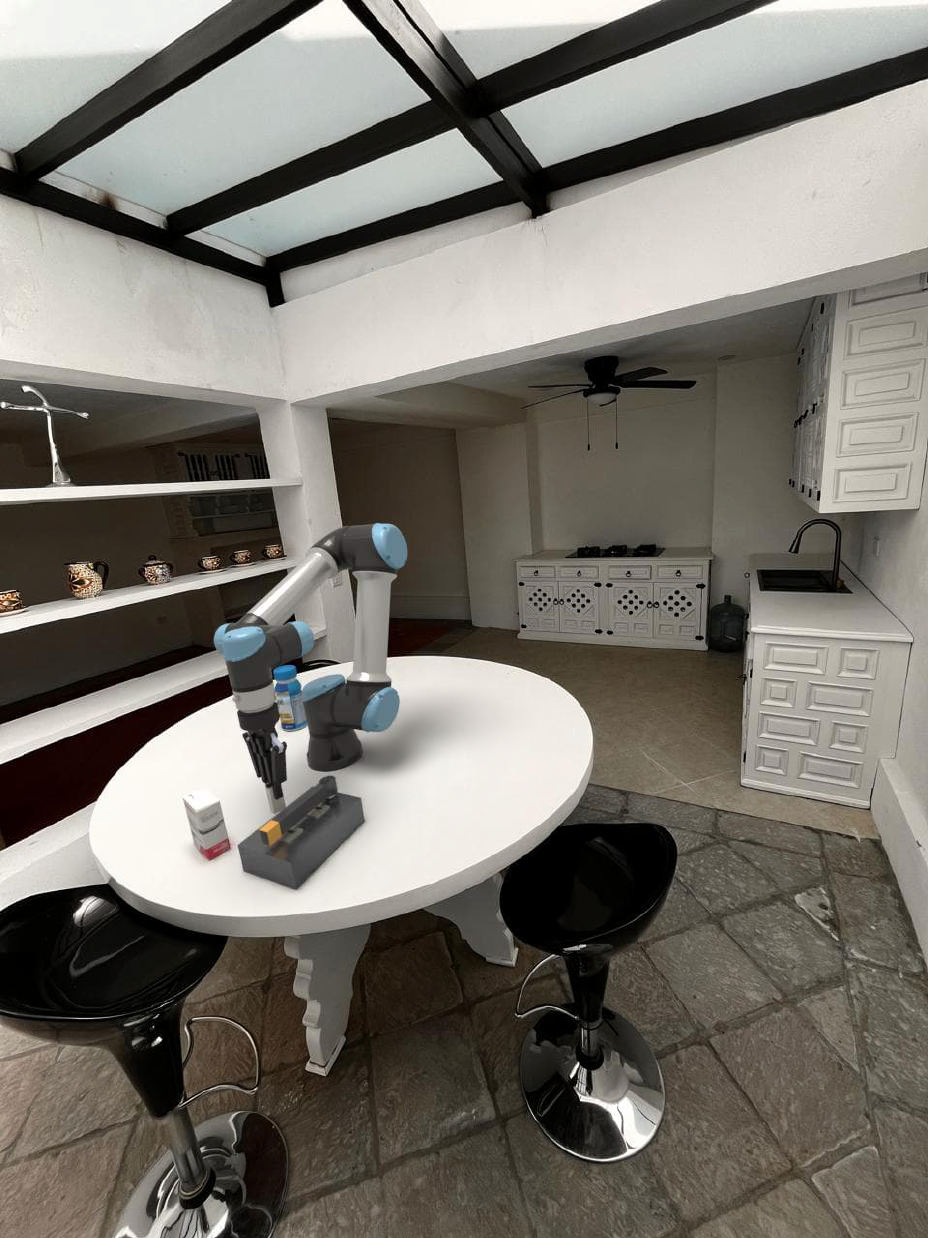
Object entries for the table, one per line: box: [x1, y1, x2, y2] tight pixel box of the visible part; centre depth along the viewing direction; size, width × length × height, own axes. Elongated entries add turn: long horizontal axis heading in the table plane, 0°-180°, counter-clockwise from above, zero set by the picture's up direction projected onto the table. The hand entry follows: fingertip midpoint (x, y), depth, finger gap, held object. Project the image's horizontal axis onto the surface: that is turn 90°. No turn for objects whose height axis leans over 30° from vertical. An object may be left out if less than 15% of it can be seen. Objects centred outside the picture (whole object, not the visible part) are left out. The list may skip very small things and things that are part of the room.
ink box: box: [182, 787, 232, 861], centre depth 106 cm, size 8×5×12 cm, turn 47°
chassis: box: [237, 786, 366, 891], centre depth 104 cm, size 14×21×7 cm, turn 154°
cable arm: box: [258, 775, 338, 846], centre depth 103 cm, size 4×20×3 cm, turn 154°
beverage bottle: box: [273, 664, 308, 732], centre depth 161 cm, size 8×8×20 cm
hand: (278, 810), depth 105 cm, fingers closed
